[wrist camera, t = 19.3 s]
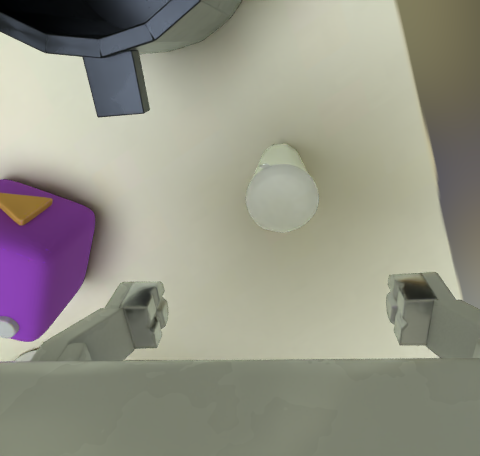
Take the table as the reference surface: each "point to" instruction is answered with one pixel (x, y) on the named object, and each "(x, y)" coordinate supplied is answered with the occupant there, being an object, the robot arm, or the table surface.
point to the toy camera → (39, 257)
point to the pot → (113, 38)
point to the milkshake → (281, 191)
